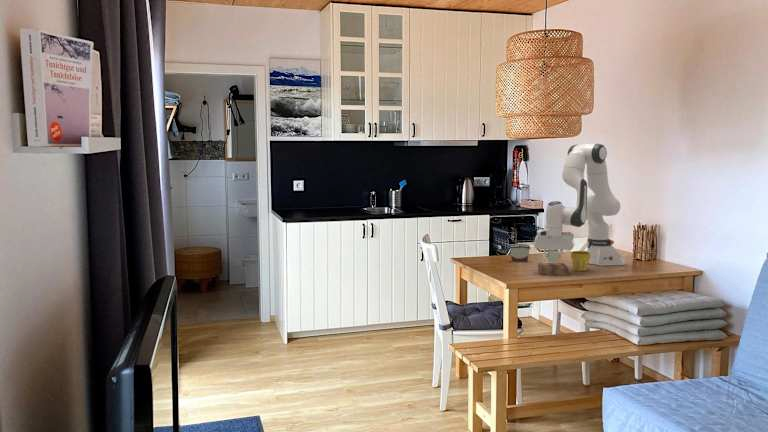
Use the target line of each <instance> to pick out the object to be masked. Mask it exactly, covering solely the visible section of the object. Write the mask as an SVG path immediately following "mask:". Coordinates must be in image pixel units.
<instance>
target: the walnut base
mask: <svg viewBox="0 0 768 432" xmlns="http://www.w3.org/2000/svg"><path fill="white" fill-rule="evenodd" d="M537 271H538V273H539V274H540V276H557V275H562V277H563V276H565V277H567V276H569V267H568V266H567V265H566V263H564V262H538V263H537Z"/></svg>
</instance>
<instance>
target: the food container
mask: <svg viewBox="0 0 768 432" xmlns="http://www.w3.org/2000/svg"><path fill="white" fill-rule="evenodd" d="M508 249H510V250H509V251H510V260H511V261H510V262H511V263H529V257H530V256H529V255H530V254H529V253H530V250H531V246H530V244H525V243H514V244H510V245H509V247H508Z"/></svg>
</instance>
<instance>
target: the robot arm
mask: <svg viewBox="0 0 768 432" xmlns="http://www.w3.org/2000/svg"><path fill="white" fill-rule="evenodd" d="M607 154H608V152H607V148H606V147H605V146H604V145H603V144H601V143H584V144H583V143H581V144H574V145H573V144H572V145H571V146H570V147H569V148H568V151H567V157H566V159H565V163H564V165H563V169H562V173H561V177H562V180H563V182H564V183H565V184H566V185H567V186H569V187H571V188H573V189H575V190H576V195H577V196H576V206H575V207H569V206H565V205H563V203H562V202H561V201H557V200H555V201H550V202H548V203H547V206H546V210H545V222H546V223H545V227H544V228H541V229H538V230H536V235H535V237H534V242H533V247H534V248H535V249H536V250H543V253H544V254H545V258H548V257H549V254H548V249H557V250H559V258H561V257H562V254H563V253H564V250H572V249H573V248H574V237H575V235H574V234H573V233H572V232H571V231H568V232H567V231H563V228H564V227H563V225H565V226H573V227H576V228H581V227H582V226H583V225H585V223H586V222H587V224H588V237H587V243H586V244H587V245H586V246H587V251H586V252H590V259H589V262H588V265H589V264H591V265H596V266H602V267H604V266H626V265H627V261H625V260H623V258H622V253H621V252H620V251H619V250H618V249H617V248H615V247H614V246H613V245H614V244H615V241H614V240H611V239H610V238H609V235H610V233H609V231H610V230H609V229H610V227H609V224H608V223H607V221H605V218H604V217H603V216H605V217H611V216H612V217H613V216H616V215H618V214H619V213H620V210H621V203H620V201H619V200H618V199H617V198H616V196H615V194H613V192H612V190H611V187H610V185H609V184H610V183H609V179H608V168H607V163H606V158H607V156H608V155H607ZM585 168H586V178H587V179H586V180H585V175H584V174H585ZM588 189H589V190H591V191H592V193H593V194H594V195H593V194H590V195H588Z"/></svg>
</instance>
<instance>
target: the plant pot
mask: <svg viewBox="0 0 768 432" xmlns="http://www.w3.org/2000/svg"><path fill="white" fill-rule="evenodd" d="M570 259H571V260H572V266H573V270H574V271H577V272H587V269H588V265H589V263H588V262H589V259H590V252H587V251H585V250H584V251H583V250H575V251H573V250H572V251H571V252H570Z"/></svg>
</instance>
